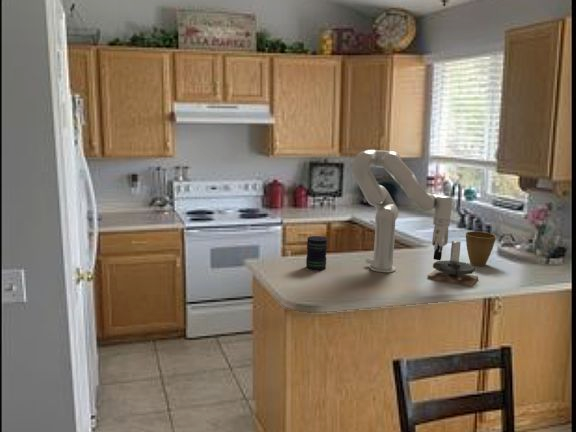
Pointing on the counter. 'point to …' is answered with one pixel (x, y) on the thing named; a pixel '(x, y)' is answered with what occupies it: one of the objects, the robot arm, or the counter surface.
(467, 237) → the plant pot
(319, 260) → the storage jar
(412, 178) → the robot arm
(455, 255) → the steel pipe
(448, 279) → the base board
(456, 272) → the grey petal ring
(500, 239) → the counter surface
